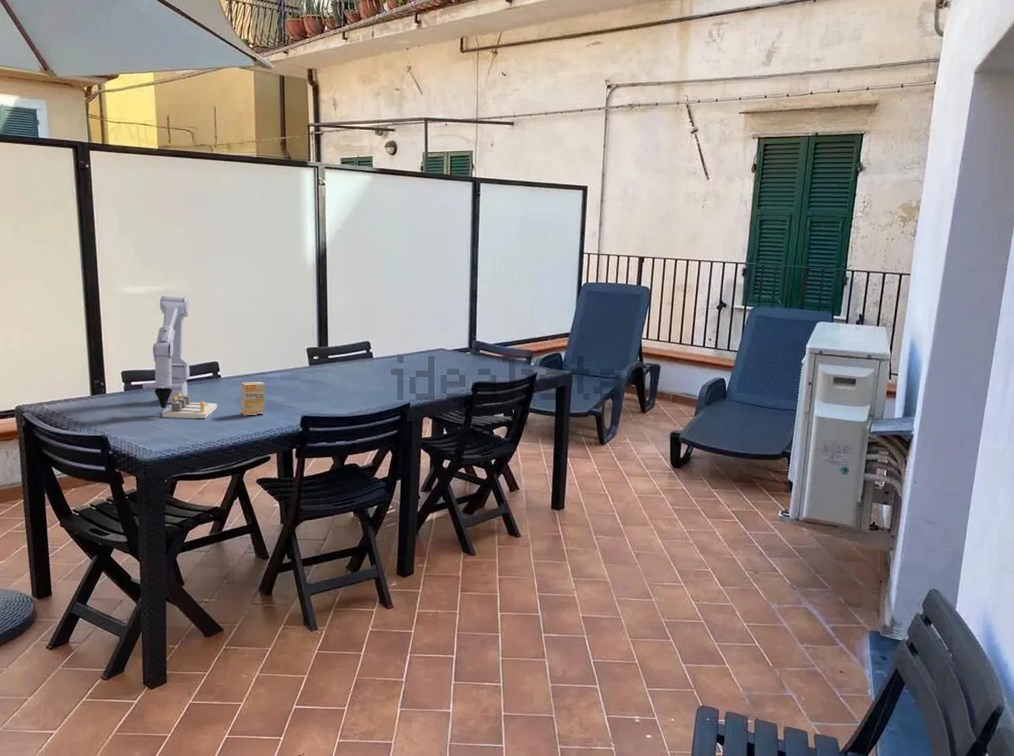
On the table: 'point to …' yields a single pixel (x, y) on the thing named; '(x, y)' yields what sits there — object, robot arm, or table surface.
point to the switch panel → (190, 410)
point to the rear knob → (186, 399)
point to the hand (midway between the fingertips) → (163, 407)
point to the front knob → (177, 406)
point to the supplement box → (252, 398)
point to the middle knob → (182, 402)
